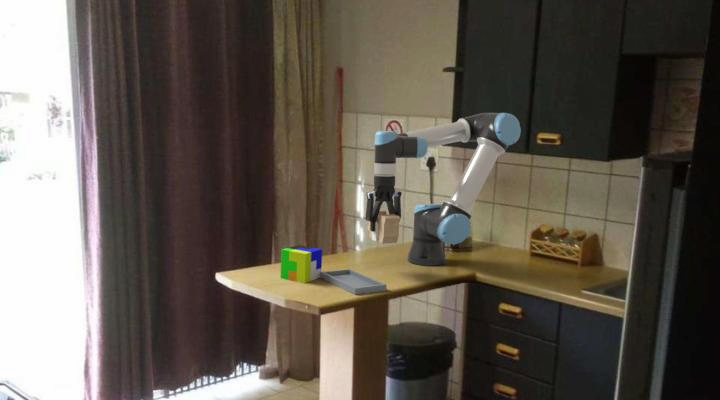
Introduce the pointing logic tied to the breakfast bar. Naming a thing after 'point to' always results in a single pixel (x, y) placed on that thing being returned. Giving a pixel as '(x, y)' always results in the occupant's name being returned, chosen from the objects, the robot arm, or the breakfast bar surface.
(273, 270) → the breakfast bar surface
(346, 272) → the tray
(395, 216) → the toy train
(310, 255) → the puzzle toy
